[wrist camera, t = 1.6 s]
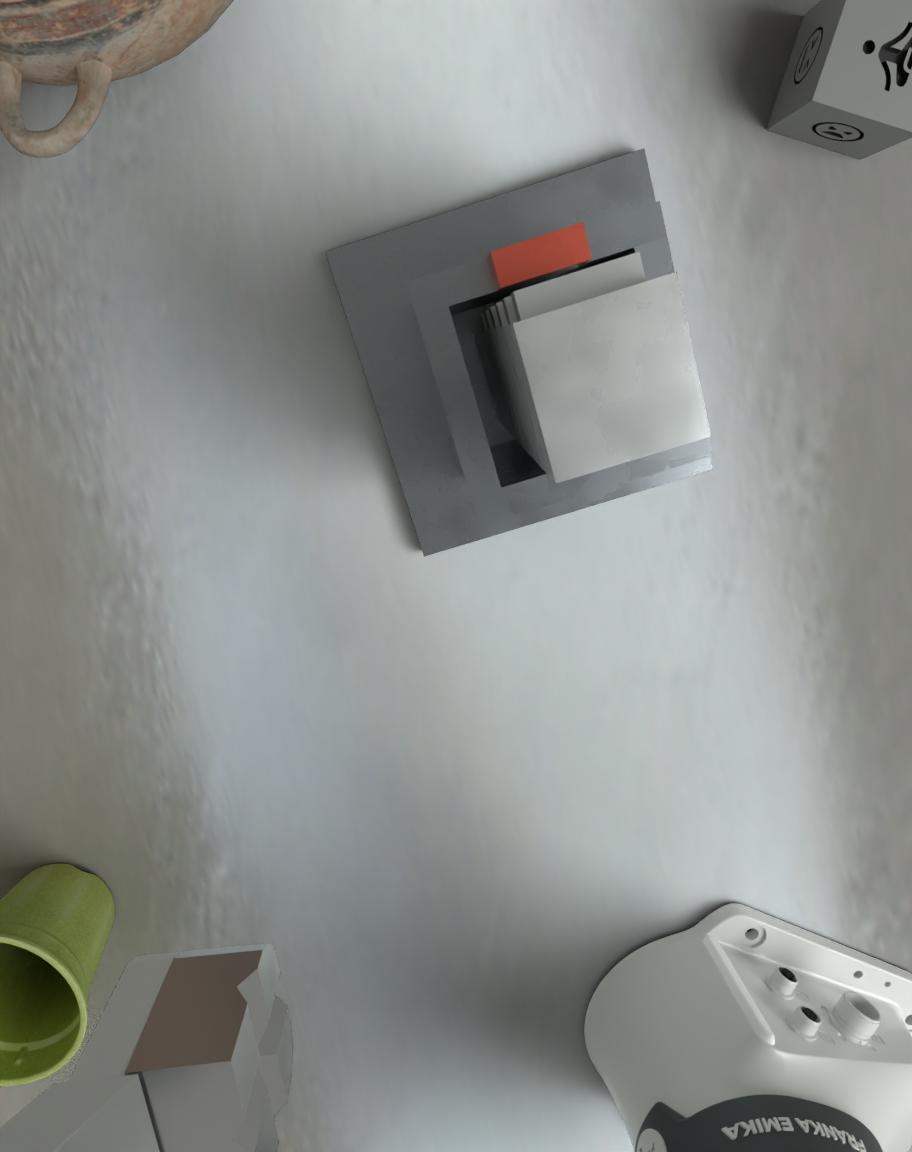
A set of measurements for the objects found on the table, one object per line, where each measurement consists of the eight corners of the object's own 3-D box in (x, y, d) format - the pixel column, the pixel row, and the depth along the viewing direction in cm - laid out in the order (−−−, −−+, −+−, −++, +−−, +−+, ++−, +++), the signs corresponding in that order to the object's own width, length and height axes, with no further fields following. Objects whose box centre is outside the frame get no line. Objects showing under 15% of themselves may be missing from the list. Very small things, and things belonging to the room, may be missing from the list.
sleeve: (638, 153, 39) (751, 47, 26) (706, 466, 44) (834, 521, 30) (327, 253, 40) (273, 204, 26) (424, 551, 44) (421, 644, 31)
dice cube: (860, 159, 40) (918, 134, 35) (765, 130, 39) (812, 100, 35) (899, 48, 39) (966, 5, 34) (803, 16, 38) (856, -32, 33)
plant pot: (-41, 864, 49) (-138, 971, 41) (101, 817, 48) (33, 915, 40) (32, 983, 51) (-46, 1107, 43) (168, 939, 51) (116, 1056, 43)
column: (554, 291, 40) (669, 239, 21) (580, 394, 41) (711, 436, 22) (469, 318, 40) (504, 292, 21) (498, 420, 41) (556, 483, 22)
